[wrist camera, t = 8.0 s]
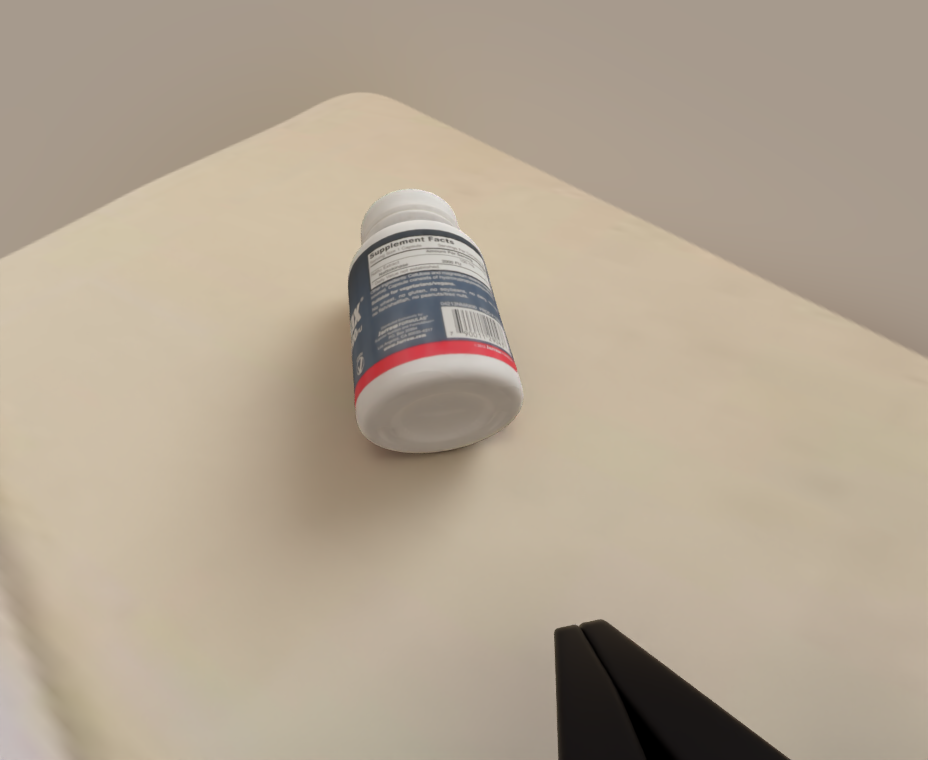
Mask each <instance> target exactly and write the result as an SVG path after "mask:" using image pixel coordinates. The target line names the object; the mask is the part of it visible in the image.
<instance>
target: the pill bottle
mask: <svg viewBox="0 0 928 760" xmlns="http://www.w3.org/2000/svg"><path fill="white" fill-rule="evenodd" d="M348 294H349V309H350V330H351V343H352V361H353V378H354V394H355V410H356V420H357V424H358V427H359V429H360V431H361V432H362V434H363V435H364V436H365V437H366V438H367V439H368V440H369V441H371V442H372V443H374V444H376V445H378V446H380V447H383V448H386V449H389V450H393V451H398V452H405V453H432V452H441V451H447V450H452V449H457V448H461V447H464V446H468V445H471V444H474V443H477V442H479V441H482V440H484V439H486V438H488V437H490V436H492V435H494V434H496V433H497V432H499V431H501V430H502V429H503V428H505V427H506V426H507V425H509V424H510V423H511V422H512V421H513V420H514V418H515V417H516V416H517V414H518V413H519V411H520V409H521V406H522V403H523V397H524V395H523V388H522V384H521V381H520V378H519V375H518V371H517V368H516V365H515V362H514V359H513V356H512V353H511V350H510V346H509V343H508V340H507V337H506V334H505V331H504V327H503V324H502V321H501V318H500V315H499V312H498V308H497V305H496V301H495V298H494V294H493V290H492V287H491V283H490V279H489V275H488V271H487V268H486V264H485V261H484V258H483V256H482V253H481V252H480V250H479V248H478V247H477V245H476V244H475V243H474V241H473V240H472V239H471V238H470V237H469V236H467V235H466V234H465V233H464V232H462V231H460V228H459V225H458V222H457V219H456V216H455V214H454V212H453V210H452V209H451V207H450V206H449V205H448V203H446V202H445V201H444V200H443V199H442V198H440V197H439V196H437V195H435V194H433V193H431V192H428V191H424V190H419V189H403V190H398V191H394V192H391V193H389V194H386V195H384V196H383V197H381V198H379V199H378V200H377V201H376V202H374V203H373V204H372V205H371V207H370V208H369V209H368V211H367V212H366V214H365V216H364V219H363V221H362V225H361V247H360V248H359V249H358V251H357V252H356V254H355V256H354V258H353V260H352V262H351V265H350V269H349V276H348Z"/></svg>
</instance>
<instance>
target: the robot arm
mask: <svg viewBox="0 0 928 760" xmlns="http://www.w3.org/2000/svg"><path fill="white" fill-rule="evenodd" d="M554 641H555V671H556V701H557V731H558V760H790V759H789V758H788V757H786V756H785V755H784V754H782V753H781V752H780V751H778V750H777V749H776V748H774V747H773V746H772V745H770V744H769V743H768V742H766V741H765V740H764V739H762V738H761V737H760V736H758V735H757V734H756V733H754V732H753V731H752V730H750V729H749V728H748V727H746V726H745V725H744V724H742V723H741V722H740V721H738V720H737V719H736V718H734V717H733V716H732V715H730V714H729V713H728V712H726V711H725V710H724V709H722V708H721V707H720V706H718V705H717V704H716V703H714V702H713V701H712V700H710V699H709V698H708V697H706V696H705V695H704V694H702V693H701V692H700V691H698V690H697V689H696V688H694V687H693V686H692V685H690V684H689V683H688V682H686V681H685V680H684V679H682V678H681V677H680V676H678V675H677V674H676V673H674V672H673V671H672V670H670V669H669V668H668V667H666V666H665V665H664V664H662V663H661V662H660V661H658V660H657V659H656V658H654V657H653V656H652V655H650V654H649V653H648V652H646V651H645V650H644V649H642V648H641V647H640V646H638V645H637V644H636V643H634V642H633V641H632V640H630V639H629V638H628V637H626V636H625V635H624V634H622V633H621V632H620V631H618V630H617V629H616V628H614V627H613V626H612V625H610V624H609V623H608V622H606V621H604V620H595V621H590V622H585V623H582V624H581V625H580V626H577V625H571V626H566V627H561V628H557V629H556V630H555V632H554Z"/></svg>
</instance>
